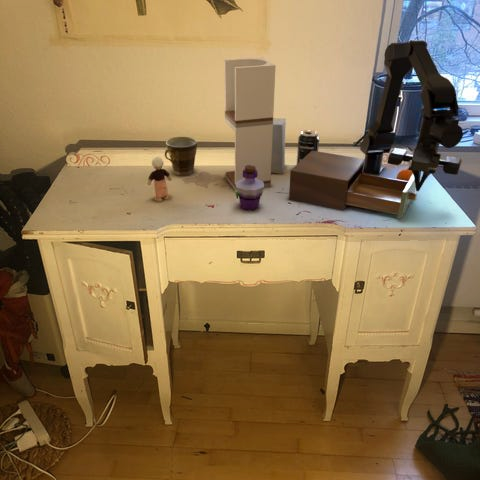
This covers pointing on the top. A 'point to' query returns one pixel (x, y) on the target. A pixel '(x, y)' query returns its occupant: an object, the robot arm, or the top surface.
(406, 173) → the orange
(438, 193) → the top surface
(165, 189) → the grandmother figurine
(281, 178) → the top surface
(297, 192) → the cabinet
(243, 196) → the potion bottle
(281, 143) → the cosmetic box
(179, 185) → the top surface
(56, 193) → the top surface
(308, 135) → the beverage can
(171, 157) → the ceramic cup
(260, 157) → the white tower
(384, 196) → the drawer
